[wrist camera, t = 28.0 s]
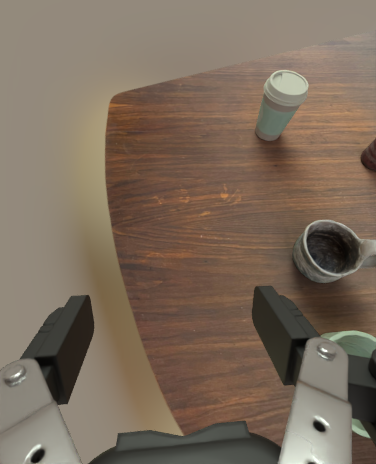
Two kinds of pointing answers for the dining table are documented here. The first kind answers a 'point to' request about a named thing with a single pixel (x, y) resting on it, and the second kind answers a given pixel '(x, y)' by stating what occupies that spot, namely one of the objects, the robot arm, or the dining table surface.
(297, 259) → the mug
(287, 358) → the robot arm
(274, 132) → the coffee cup
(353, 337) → the bowl
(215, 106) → the dining table surface
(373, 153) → the can
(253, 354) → the dining table surface
